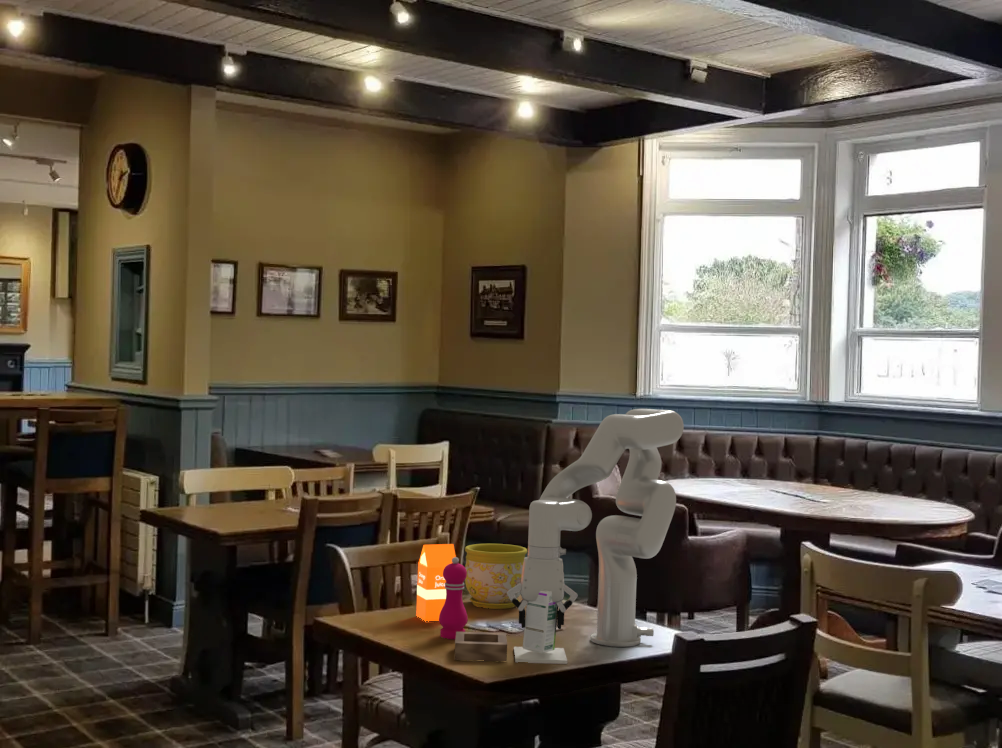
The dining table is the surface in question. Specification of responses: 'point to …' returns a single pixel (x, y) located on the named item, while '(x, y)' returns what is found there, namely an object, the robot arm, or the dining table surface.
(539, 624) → the syrup box
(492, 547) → the flowerpot
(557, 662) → the plate
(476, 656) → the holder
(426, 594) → the orange juice
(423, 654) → the dining table surface
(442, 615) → the pepper mill
